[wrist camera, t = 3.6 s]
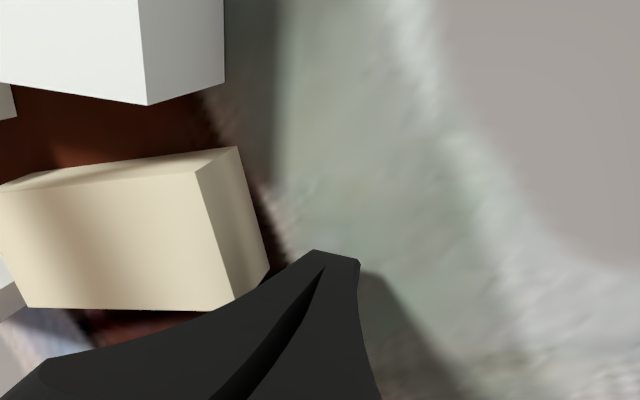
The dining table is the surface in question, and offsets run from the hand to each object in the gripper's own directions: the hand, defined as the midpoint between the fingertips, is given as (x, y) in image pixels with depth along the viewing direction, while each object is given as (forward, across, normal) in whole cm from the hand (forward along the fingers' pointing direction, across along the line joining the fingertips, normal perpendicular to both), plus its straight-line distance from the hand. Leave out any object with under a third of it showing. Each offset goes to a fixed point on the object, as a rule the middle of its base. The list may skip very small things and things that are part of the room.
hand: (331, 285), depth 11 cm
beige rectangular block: (+2, +7, 0) cm, 7 cm away
